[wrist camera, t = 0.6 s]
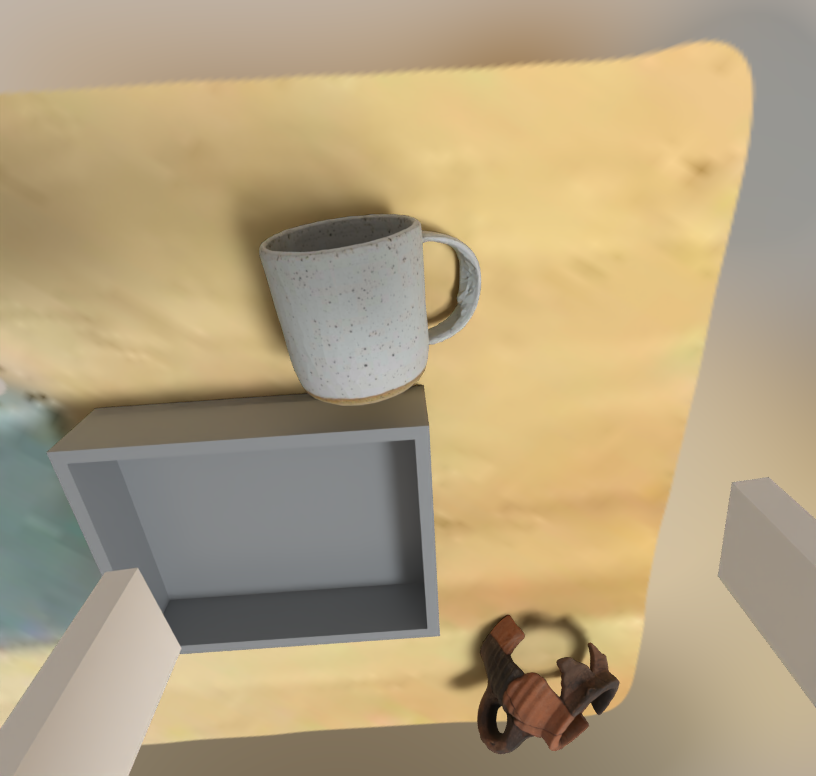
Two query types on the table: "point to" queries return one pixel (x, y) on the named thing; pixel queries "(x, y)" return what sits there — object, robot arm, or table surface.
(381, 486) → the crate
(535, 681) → the brown clay vessel
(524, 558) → the table surface
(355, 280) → the ceramic mug
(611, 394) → the table surface
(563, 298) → the table surface
